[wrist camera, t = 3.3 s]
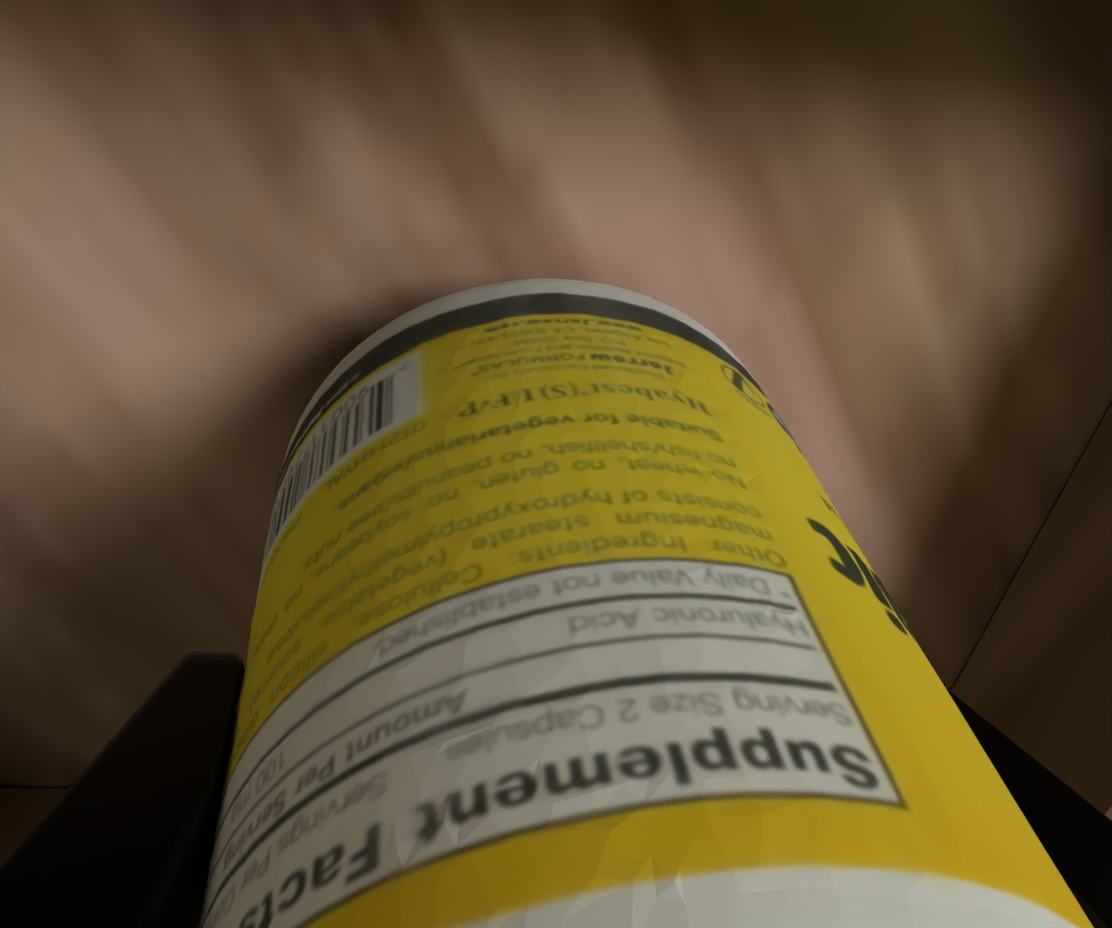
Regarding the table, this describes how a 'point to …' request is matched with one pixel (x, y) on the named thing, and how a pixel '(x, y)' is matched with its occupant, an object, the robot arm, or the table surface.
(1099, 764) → the wooden frame
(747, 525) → the supplement bottle
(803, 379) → the table surface
